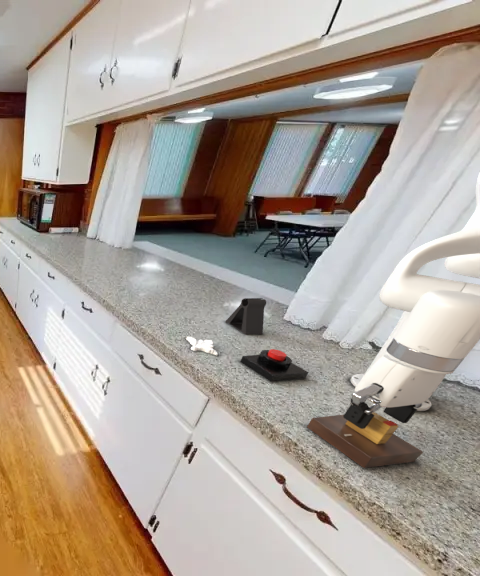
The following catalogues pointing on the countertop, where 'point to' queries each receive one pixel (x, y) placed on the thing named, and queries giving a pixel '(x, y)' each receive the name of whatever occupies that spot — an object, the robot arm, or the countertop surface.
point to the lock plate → (362, 443)
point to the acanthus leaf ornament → (202, 345)
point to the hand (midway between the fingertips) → (373, 420)
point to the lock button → (277, 354)
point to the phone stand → (248, 316)
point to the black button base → (273, 367)
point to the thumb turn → (376, 429)
